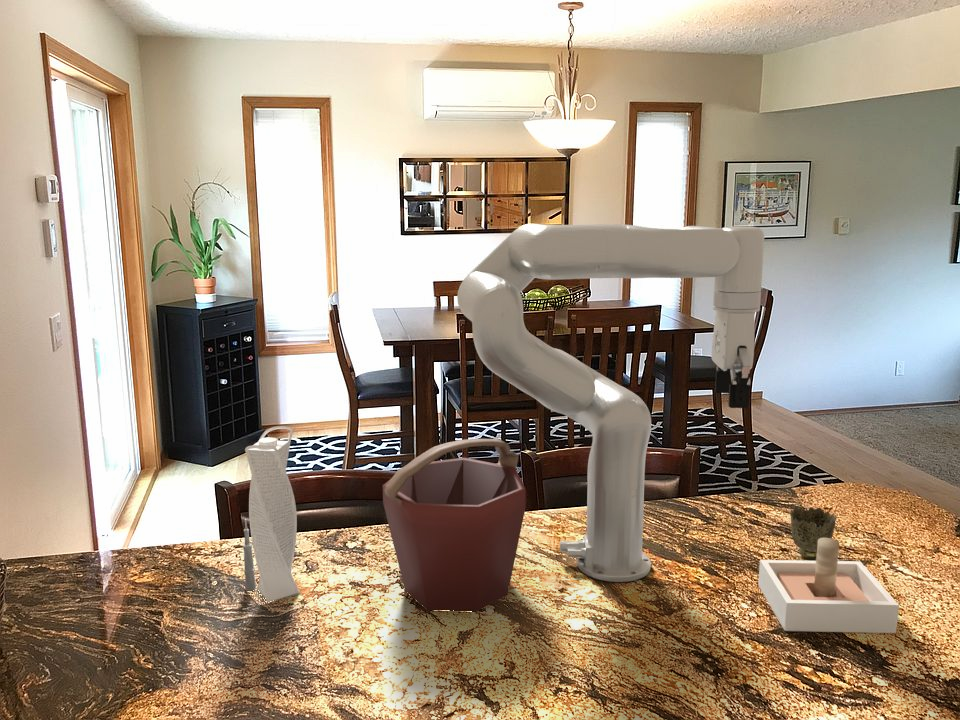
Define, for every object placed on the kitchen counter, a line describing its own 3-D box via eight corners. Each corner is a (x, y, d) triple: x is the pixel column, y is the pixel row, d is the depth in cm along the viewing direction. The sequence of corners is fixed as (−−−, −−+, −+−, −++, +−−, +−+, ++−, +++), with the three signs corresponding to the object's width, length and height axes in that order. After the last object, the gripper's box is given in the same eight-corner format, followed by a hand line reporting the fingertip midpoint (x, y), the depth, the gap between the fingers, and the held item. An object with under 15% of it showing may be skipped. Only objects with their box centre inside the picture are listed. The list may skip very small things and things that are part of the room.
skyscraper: (292, 576, 138) (281, 419, 132) (311, 595, 132) (301, 431, 126) (243, 590, 134) (230, 428, 128) (261, 611, 127) (248, 441, 121)
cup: (825, 547, 146) (828, 506, 144) (838, 566, 139) (842, 523, 137) (782, 546, 147) (785, 505, 145) (793, 565, 140) (797, 521, 138)
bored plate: (799, 619, 120) (800, 607, 120) (776, 584, 131) (777, 572, 131) (874, 621, 120) (876, 608, 119) (846, 585, 130) (847, 573, 130)
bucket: (504, 549, 147) (503, 417, 142) (556, 607, 127) (557, 455, 122) (372, 572, 139) (366, 433, 134) (405, 637, 119) (399, 476, 113)
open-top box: (784, 630, 119) (786, 602, 118) (758, 585, 133) (759, 559, 132) (896, 633, 118) (899, 605, 117) (857, 586, 132) (860, 561, 131)
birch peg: (816, 606, 124) (821, 545, 122) (810, 596, 127) (815, 537, 125) (836, 606, 124) (842, 546, 122) (829, 597, 127) (834, 537, 125)
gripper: (703, 294, 144) (698, 387, 148) (726, 308, 127) (720, 413, 131) (745, 294, 143) (740, 387, 147) (774, 308, 127) (767, 414, 130)
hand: (731, 399), depth 139 cm, fingers open, 9 cm apart
